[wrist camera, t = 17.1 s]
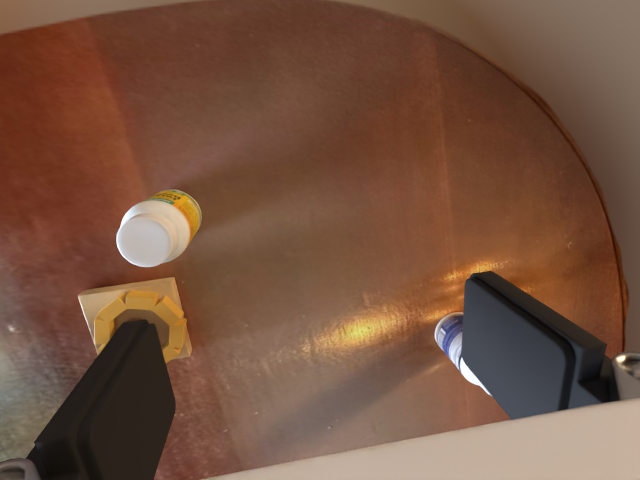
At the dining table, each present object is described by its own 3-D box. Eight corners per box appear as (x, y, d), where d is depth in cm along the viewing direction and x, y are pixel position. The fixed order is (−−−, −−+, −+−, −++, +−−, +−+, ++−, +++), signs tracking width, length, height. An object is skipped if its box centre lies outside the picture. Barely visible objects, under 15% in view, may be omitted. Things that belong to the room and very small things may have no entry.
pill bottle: (481, 326, 45) (537, 376, 36) (451, 355, 45) (498, 412, 36) (455, 302, 43) (507, 348, 34) (424, 333, 44) (467, 386, 35)
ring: (99, 287, 35) (93, 293, 34) (188, 293, 36) (185, 299, 35) (101, 360, 37) (94, 368, 36) (184, 363, 39) (181, 371, 37)
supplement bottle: (158, 246, 36) (122, 284, 27) (138, 196, 34) (92, 218, 25) (210, 232, 36) (191, 265, 27) (192, 182, 35) (166, 199, 26)
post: (84, 289, 36) (15, 348, 26) (174, 276, 37) (141, 328, 27) (109, 363, 39) (55, 441, 29) (192, 349, 40) (167, 420, 30)
